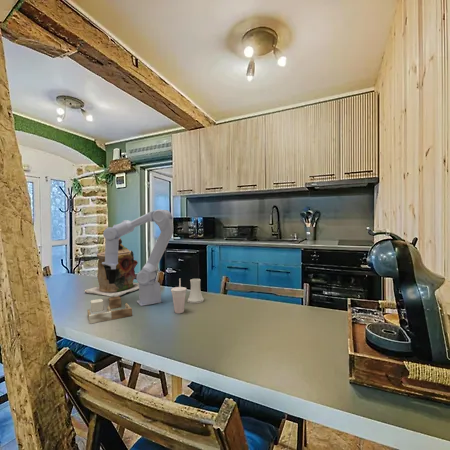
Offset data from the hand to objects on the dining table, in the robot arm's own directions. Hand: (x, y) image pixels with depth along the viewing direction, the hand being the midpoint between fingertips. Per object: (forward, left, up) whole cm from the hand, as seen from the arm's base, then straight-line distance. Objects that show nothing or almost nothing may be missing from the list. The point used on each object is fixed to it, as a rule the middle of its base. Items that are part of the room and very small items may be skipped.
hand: (110, 281), depth 129 cm
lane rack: (+3, +20, -10) cm, 22 cm away
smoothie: (-22, +30, -10) cm, 39 cm away
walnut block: (0, +8, -10) cm, 13 cm away
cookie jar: (-6, -23, -10) cm, 25 cm away
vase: (-34, +20, -10) cm, 41 cm away
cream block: (+7, +8, -10) cm, 15 cm away
